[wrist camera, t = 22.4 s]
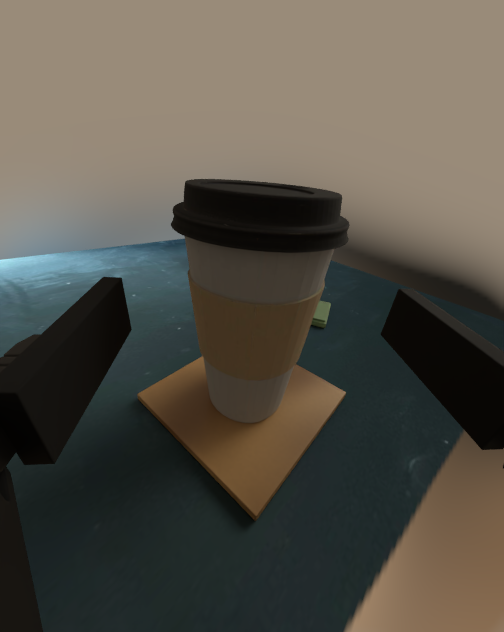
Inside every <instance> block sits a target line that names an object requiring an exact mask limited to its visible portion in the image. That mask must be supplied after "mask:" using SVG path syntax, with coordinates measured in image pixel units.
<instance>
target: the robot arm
mask: <svg viewBox="0 0 504 632" xmlns="http://www.w3.org/2000/svg"><path fill="white" fill-rule="evenodd" d="M130 331H131V324H130V319H129V314H128V309H127V304H126V298H125V293H124V288H123V283H122V278H115V277H103V278H102V279H101V280H100V281H98V282H97V283H96V284H95V285H94V286H93V287H92V288H91V289H90V290H89V291H88V292H87V293H85V294H84V295H83V296H82V297H81V298H80V299H79V300H78V301H77V302H76V303H75V304H74V305H73V306H71V307H70V308H69V309H68V310H67V311H66V312H65V313H64V314H63V315H62V316H61V317H60V318H58V319H57V320H56V321H55V322H54V323H53V324H52V325H51V326H50V327H49V328H48V329H47V330H46V331H44V332H43V333H42V334H41V335H32V336H30V337H28V338H27V339H25V340H23V341H21V342H19V343H17V344H16V345H15V346H13V347H12V348H11V349H10V350H9V351H8V352H6V353H5V354H4V357H1V358H0V632H43V629H42V624H41V619H40V615H39V610H38V605H37V600H36V595H35V590H34V585H33V581H32V576H31V571H30V566H29V561H28V556H27V551H26V546H25V542H24V537H23V532H22V527H21V522H20V517H19V512H18V508H17V503H16V498H15V493H14V488H13V483H12V478H11V474H10V472H9V470H8V469H7V467H6V465H7V464H8V462H9V461H10V460H11V458H12V457H13V456H14V454H15V453H17V454H18V456H19V457H20V459H21V460H22V462H23V464H24V465H32V464H55V462H56V460H57V459H58V457H59V455H60V453H61V452H62V450H63V448H64V446H65V445H66V443H67V441H68V439H69V438H70V436H71V434H72V432H73V431H74V429H75V427H76V425H77V424H78V422H79V420H80V419H81V417H82V415H83V413H84V412H85V410H86V408H87V406H88V405H89V403H90V401H91V399H92V398H93V396H94V394H95V392H96V391H97V389H98V387H99V385H100V384H101V382H102V380H103V378H104V377H105V375H106V373H107V372H108V370H109V368H110V366H111V365H112V363H113V361H114V359H115V358H116V356H117V354H118V352H119V351H120V349H121V347H122V345H123V344H124V342H125V340H126V338H127V337H128V335H129V333H130ZM381 336H382V337H383V338H384V339H385V340H386V341H387V342H388V343H389V345H390V346H391V347H392V348H393V349H394V350H395V351H396V353H397V354H398V355H399V356H400V357H401V358H402V359H403V361H404V362H405V363H406V364H407V365H408V366H409V367H410V368H411V370H412V371H413V372H414V373H415V374H416V375H417V376H418V378H419V379H420V380H421V381H422V382H423V383H424V384H425V386H426V387H427V388H428V389H429V390H430V391H431V392H432V394H433V395H434V396H435V397H436V398H437V399H438V400H439V401H440V403H441V404H442V405H443V406H444V407H445V408H446V409H447V411H448V412H449V413H450V414H451V415H452V416H453V417H454V419H455V420H456V421H457V422H458V423H459V424H460V425H461V426H462V428H463V429H464V430H465V431H466V432H467V433H468V434H469V435H470V436H471V438H472V439H473V440H474V441H475V442H476V443H477V445H478V446H479V447H480V448H481V449H482V450H489V449H503V448H504V352H503V351H502V350H500V349H499V348H497V347H496V346H494V345H493V344H491V343H490V342H489V341H487V340H486V339H484V338H483V337H481V336H480V335H478V334H477V333H476V332H474V331H473V330H471V329H470V328H468V327H467V326H465V325H464V324H463V323H461V322H460V321H458V320H457V319H455V318H454V317H452V316H451V315H450V314H448V313H447V312H445V311H444V310H442V309H441V308H439V307H438V306H437V305H435V304H434V303H432V302H431V301H429V300H428V299H426V298H425V297H424V296H422V295H421V294H419V293H418V292H416V291H415V290H413V289H399V290H398V292H397V295H396V297H395V300H394V302H393V305H392V307H391V310H390V312H389V315H388V317H387V320H386V322H385V325H384V327H383V330H382V332H381ZM503 468H504V465H503Z"/></svg>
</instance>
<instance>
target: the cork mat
mask: <svg viewBox="0 0 504 632" xmlns="http://www.w3.org/2000/svg"><path fill="white" fill-rule="evenodd" d="M137 395H138V399H139V400H140V402H141V403H142V404H143V405H144V406H145V407H146V408H147V409H148V410H149V411H150V412H151V413H152V414H153V415H154V416H155V417H156V418H157V419H158V420H159V421H160V422H161V423H162V424H163V425H164V427H165V428H166V429H167V430H168V431H169V432H170V433H171V434H172V435H173V436H174V437H175V438H176V439H177V440H178V441H179V442H180V443H181V444H182V445H183V446H184V447H185V448H186V449H187V451H188V452H189V453H190V454H191V455H192V456H193V457H194V458H195V459H196V460H197V461H198V462H199V463H200V464H201V465H202V466H203V467H204V468H205V469H206V470H207V471H208V472H209V473H210V474H211V476H212V477H213V478H214V479H215V480H216V481H217V482H218V483H219V484H220V485H221V486H222V487H223V488H224V489H225V490H226V491H227V492H228V493H229V494H230V495H231V496H232V497H233V498H234V499H235V501H236V502H237V503H238V504H239V505H240V506H241V507H242V508H243V509H244V510H245V511H246V512H247V513H248V514H249V515H250V516H251V517H252V518H253V519H254V520H255V521H256V520H257V518H258V517H259V516H260V514H261V513H262V512H263V510H264V509H265V507H266V506H267V505H268V503H269V502H270V500H271V499H272V498H273V496H274V495H275V493H276V492H277V491H278V489H279V488H280V486H281V485H282V484H283V482H284V481H285V479H286V478H287V477H288V475H289V474H290V473H291V471H292V470H293V468H294V467H295V466H296V464H297V463H298V461H299V460H300V459H301V457H302V456H303V454H304V453H305V452H306V450H307V449H308V447H309V446H310V445H311V443H312V442H313V440H314V439H315V438H316V436H317V435H318V434H319V432H320V431H321V429H322V428H323V427H324V425H325V424H326V422H327V421H328V420H329V418H330V417H331V415H332V414H333V413H334V411H335V410H336V408H337V407H338V406H339V404H340V403H341V402H342V400H343V399H344V397H345V395H346V392H344V391H343V390H341V389H339V388H337V387H335V386H334V385H332V384H330V383H328V382H327V381H325V380H323V379H321V378H320V377H318V376H316V375H314V374H312V373H311V372H309V371H307V370H305V369H304V368H302V367H300V366H298V365H296V364H295V365H294V367H293V370H292V373H291V376H290V379H289V382H288V385H287V387H286V390H285V393H284V396H283V399H282V401H281V404H280V406H279V407H278V409H277V410H276V411H275V412H274V413H273V414H272V415H271V416H269V417H268V418H266V419H264V420H262V421H259V422H255V423H242V422H237V421H234V420H232V419H229V418H228V417H226V416H224V415H223V414H221V413H220V412H219V411H218V410H217V409H216V408H215V406H214V405H213V404H212V401H211V399H210V395H209V389H208V383H207V377H206V370H205V364H204V358H203V356H202V357H200V358H199V359H197V360H195V361H194V362H192V363H190V364H188V365H187V366H185V367H183V368H182V369H180V370H178V371H176V372H175V373H173V374H171V375H169V376H168V377H166V378H164V379H163V380H161V381H159V382H157V383H156V384H154V385H152V386H151V387H149V388H147V389H145V390H144V391H142V392H140V393H139V394H137Z"/></svg>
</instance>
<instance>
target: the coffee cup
mask: <svg viewBox="0 0 504 632" xmlns="http://www.w3.org/2000/svg"><path fill="white" fill-rule="evenodd" d="M341 203H342V195H340V194H339V193H335V192H332V191H327V190H322V189H316V188H310V187H303V186H295V185H286V184H277V183H267V182H254V181H241V180H221V179H194V180H188V181H186V182H185V189H184V202H181V203H179V204H177V205H175V206H174V208H173V214H174V218H173V221H172V223H171V226H172V228H173V229H174V230H175V231H177V232H178V233H180V234H182V235H184V236H185V241H186V248H187V254H188V261H189V267H190V269H189V271H188V278H189V285H190V291H191V297H192V303H193V309H194V316H195V322H196V328H197V334H198V340H199V347H200V352H201V354H202V356H203V358H204V364H205V370H206V377H207V383H208V389H209V395H210V399H211V401H212V404H213V405H214V406H215V408H216V409H217V410H218V411H219V412H220V413H221V414H223V415H224V416H226V417H228V418H229V419H232V420H234V421H237V422H242V423H255V422H259V421H262V420H264V419H266V418H268V417H269V416H271V415H272V414H273V413H274V412H275V411H276V410H277V409H278V407H279V406H280V404H281V401H282V399H283V396H284V393H285V390H286V387H287V385H288V382H289V379H290V376H291V373H292V370H293V367H294V365H295V364H296V362H297V361H298V359H299V357H300V354H301V351H302V348H303V345H304V343H305V340H306V337H307V334H308V331H309V328H310V326H311V323H312V320H313V317H314V314H315V311H316V308H317V306H318V303H319V300H320V297H321V294H322V291H323V289H324V286H325V283H324V278H325V275H326V272H327V269H328V266H329V263H330V260H331V257H332V254H333V251H334V249H335V248H338V247H341V246H343V245H345V244H346V243H347V242H348V237H347V230H348V228H349V222H348V221H347V220H346V219H345V218H343V217H342V216H340V210H341Z"/></svg>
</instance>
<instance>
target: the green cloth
mask: <svg viewBox="0 0 504 632" xmlns="http://www.w3.org/2000/svg"><path fill="white" fill-rule="evenodd" d="M330 305H331V304H329V303H327V302H323V301H319V303H318V306H317V308H316V311H315V314H314V317H313V320H312V323H311V325H314V326H318V327H322V328H325V327H326V323H327V318H328V314H329V310H330Z"/></svg>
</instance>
